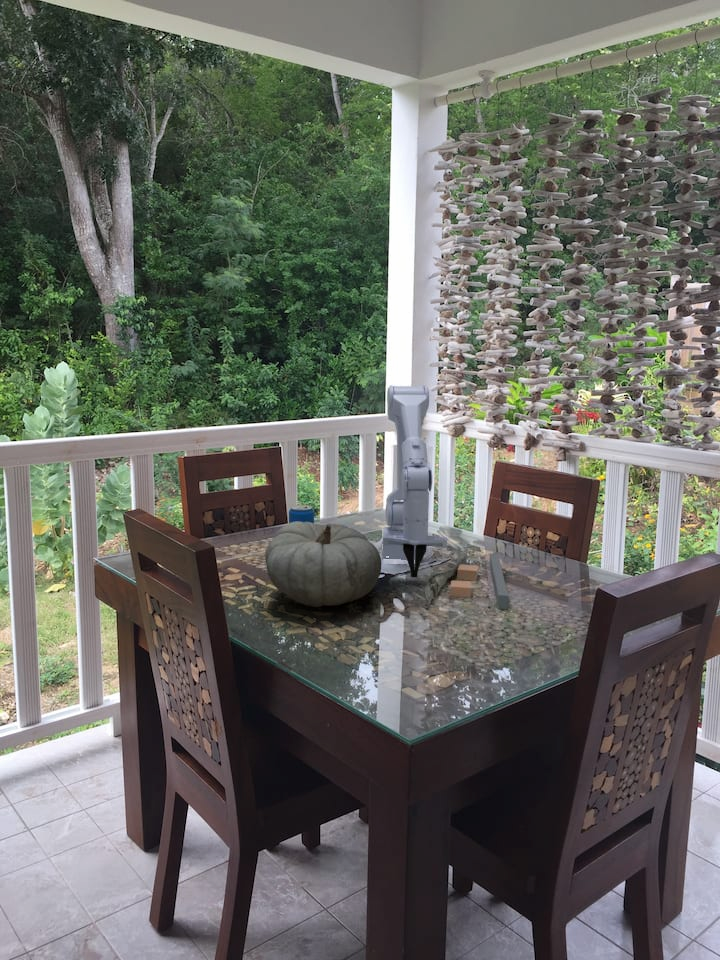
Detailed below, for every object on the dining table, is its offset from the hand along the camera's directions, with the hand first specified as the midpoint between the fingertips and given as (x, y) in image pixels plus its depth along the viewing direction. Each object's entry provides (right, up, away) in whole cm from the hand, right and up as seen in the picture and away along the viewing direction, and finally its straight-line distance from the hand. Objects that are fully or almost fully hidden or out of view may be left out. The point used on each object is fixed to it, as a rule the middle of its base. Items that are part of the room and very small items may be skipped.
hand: (414, 576), depth 189 cm
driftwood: (+7, -2, -1) cm, 8 cm away
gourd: (-21, -4, -12) cm, 24 cm away
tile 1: (+10, -3, -7) cm, 13 cm away
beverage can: (-28, +3, +24) cm, 37 cm away
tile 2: (+13, -1, +5) cm, 14 cm away
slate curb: (+19, -2, -2) cm, 19 cm away
